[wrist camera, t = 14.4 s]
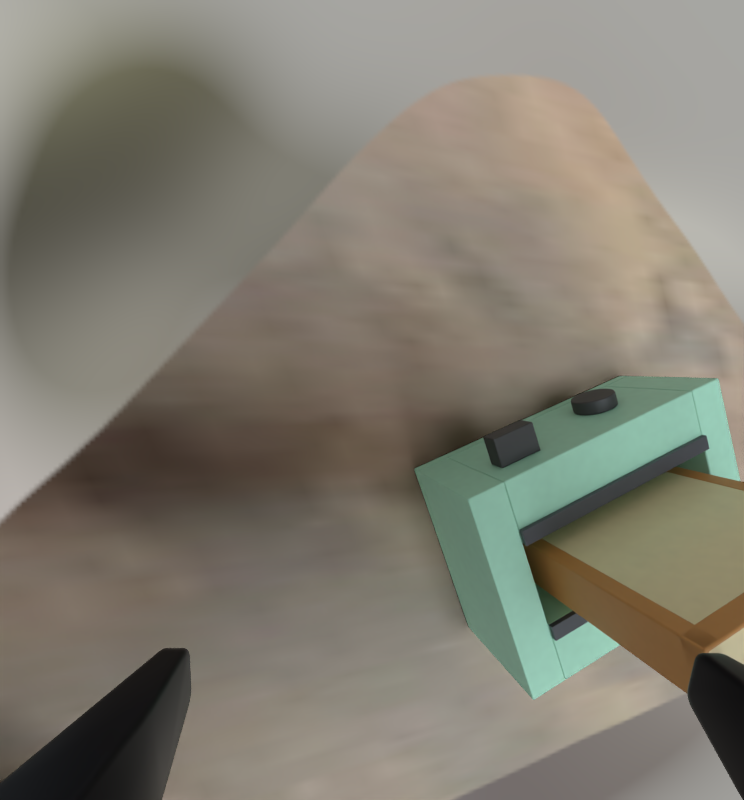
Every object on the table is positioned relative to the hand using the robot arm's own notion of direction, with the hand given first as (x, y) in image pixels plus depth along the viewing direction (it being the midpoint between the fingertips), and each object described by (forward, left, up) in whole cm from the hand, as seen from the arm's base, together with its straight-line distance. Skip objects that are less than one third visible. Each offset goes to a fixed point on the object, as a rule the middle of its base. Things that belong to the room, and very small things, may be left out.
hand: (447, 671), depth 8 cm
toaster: (+9, -7, -12) cm, 16 cm away
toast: (+9, -7, -11) cm, 16 cm away
